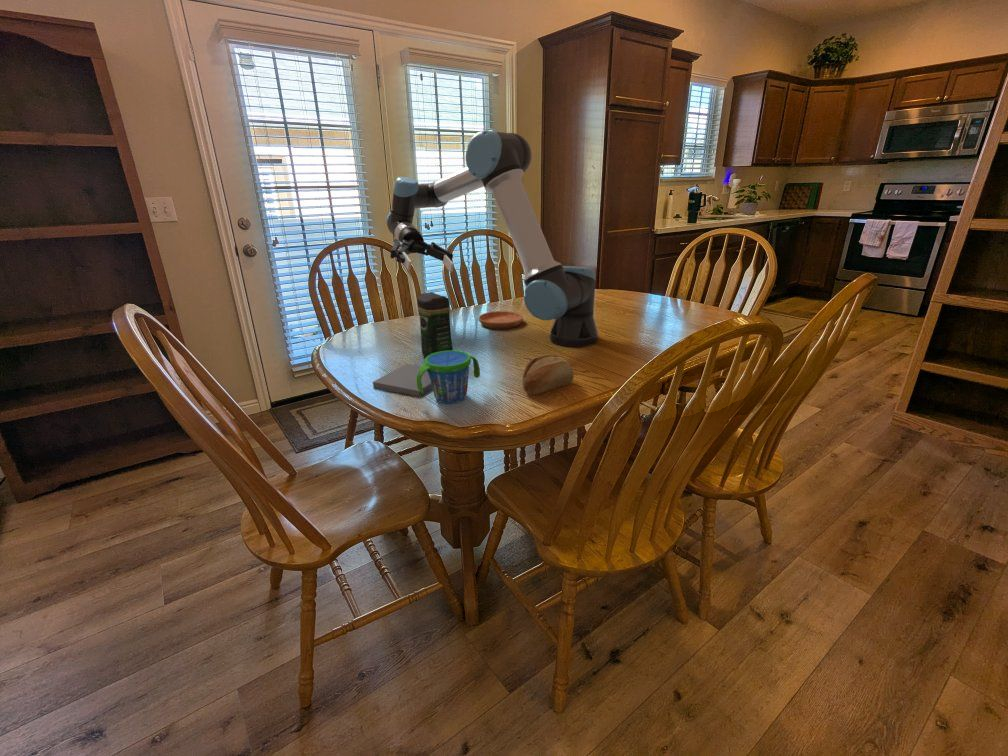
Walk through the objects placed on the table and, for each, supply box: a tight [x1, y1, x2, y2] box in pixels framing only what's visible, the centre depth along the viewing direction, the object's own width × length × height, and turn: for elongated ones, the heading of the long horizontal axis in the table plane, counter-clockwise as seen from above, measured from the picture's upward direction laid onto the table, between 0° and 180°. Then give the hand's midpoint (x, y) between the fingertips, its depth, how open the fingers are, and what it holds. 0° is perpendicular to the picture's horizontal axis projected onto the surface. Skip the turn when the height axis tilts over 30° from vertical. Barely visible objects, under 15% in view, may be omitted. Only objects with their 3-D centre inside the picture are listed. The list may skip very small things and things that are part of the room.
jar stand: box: [372, 363, 433, 397], centre depth 120 cm, size 14×14×2 cm
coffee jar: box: [417, 291, 454, 358], centre depth 135 cm, size 10×8×19 cm
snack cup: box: [417, 349, 481, 404], centre depth 109 cm, size 16×10×10 cm
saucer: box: [478, 310, 524, 330], centre depth 169 cm, size 16×16×3 cm
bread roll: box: [522, 354, 575, 395], centre depth 114 cm, size 10×15×8 cm, turn 132°
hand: (431, 267), depth 140 cm, fingers open, 13 cm apart
